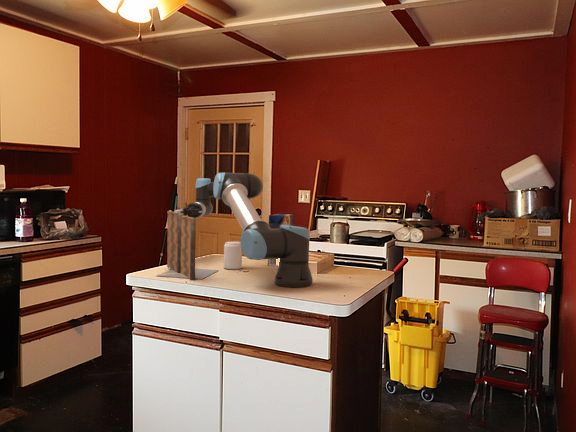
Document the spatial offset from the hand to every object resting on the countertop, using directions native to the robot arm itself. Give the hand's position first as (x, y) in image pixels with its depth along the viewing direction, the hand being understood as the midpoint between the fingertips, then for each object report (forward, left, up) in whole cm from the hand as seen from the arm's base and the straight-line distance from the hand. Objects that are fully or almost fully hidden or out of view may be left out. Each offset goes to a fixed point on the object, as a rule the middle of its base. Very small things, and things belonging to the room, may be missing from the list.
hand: (175, 213), depth 234 cm
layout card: (-11, +12, -25) cm, 29 cm away
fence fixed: (-13, +18, -25) cm, 33 cm away
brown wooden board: (-3, +8, -24) cm, 25 cm away
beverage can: (-25, -6, -25) cm, 36 cm away
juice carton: (-43, -24, -25) cm, 55 cm away
